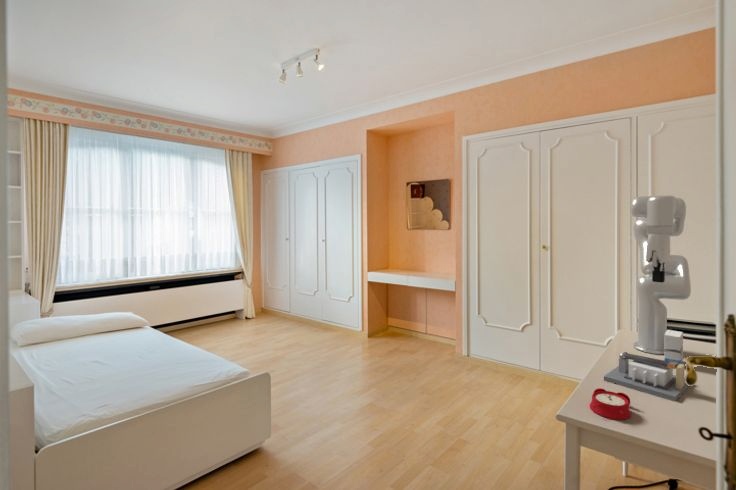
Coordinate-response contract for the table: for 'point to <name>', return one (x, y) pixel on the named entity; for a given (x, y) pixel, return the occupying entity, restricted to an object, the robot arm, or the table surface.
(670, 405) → the table surface
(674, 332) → the ink box
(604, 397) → the alarm clock
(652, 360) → the grey flat bar
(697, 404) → the table surface
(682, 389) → the heatsink board
